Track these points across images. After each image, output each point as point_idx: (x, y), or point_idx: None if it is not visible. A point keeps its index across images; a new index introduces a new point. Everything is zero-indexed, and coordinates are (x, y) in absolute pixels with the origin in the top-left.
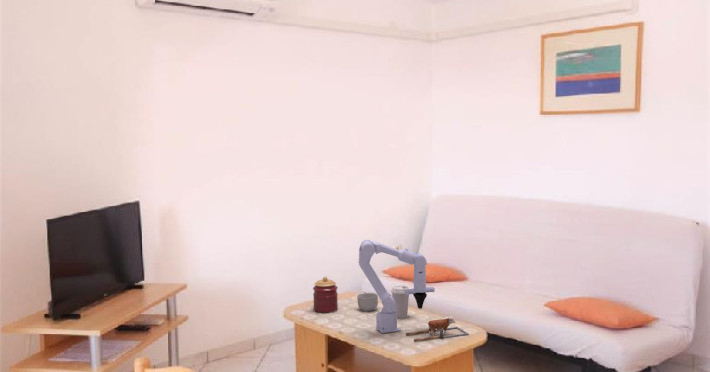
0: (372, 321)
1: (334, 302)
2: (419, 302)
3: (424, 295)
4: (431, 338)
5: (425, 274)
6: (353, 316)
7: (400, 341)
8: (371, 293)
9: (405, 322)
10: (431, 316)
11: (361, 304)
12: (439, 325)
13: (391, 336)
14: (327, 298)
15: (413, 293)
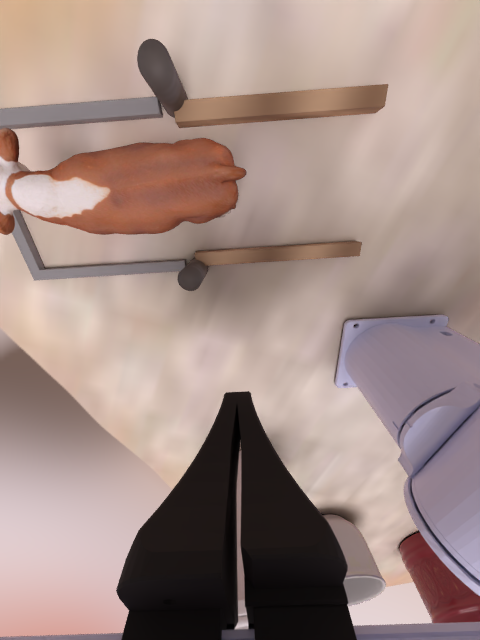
0: (377, 445)
1: (448, 569)
2: (260, 439)
3: (180, 551)
4: (250, 98)
5: None
6: (402, 492)
7: (449, 145)
8: None
9: (266, 409)
10: (140, 439)
11: (367, 547)
12: (148, 143)
13: (432, 257)
14: None
15: (379, 638)
